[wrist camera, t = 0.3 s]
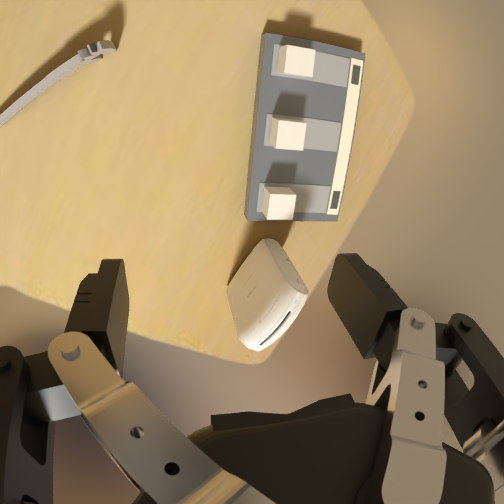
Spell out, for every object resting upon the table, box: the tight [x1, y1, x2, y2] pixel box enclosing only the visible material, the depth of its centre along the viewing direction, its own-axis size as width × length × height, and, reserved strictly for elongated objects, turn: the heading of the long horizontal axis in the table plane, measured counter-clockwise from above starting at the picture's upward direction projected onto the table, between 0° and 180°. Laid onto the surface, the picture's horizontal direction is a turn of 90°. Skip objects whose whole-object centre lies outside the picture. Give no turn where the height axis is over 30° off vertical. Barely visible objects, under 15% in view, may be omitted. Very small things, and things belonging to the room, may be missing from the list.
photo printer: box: [227, 238, 308, 351], centre depth 39 cm, size 10×4×12 cm, turn 146°
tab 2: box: [277, 45, 316, 77], centre depth 28 cm, size 3×3×2 cm
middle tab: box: [269, 117, 307, 151], centre depth 32 cm, size 3×3×2 cm
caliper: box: [0, 40, 117, 127], centre depth 24 cm, size 20×1×6 cm, turn 109°
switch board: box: [244, 33, 365, 221], centre depth 35 cm, size 22×12×2 cm, turn 174°
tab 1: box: [262, 187, 296, 220], centre depth 36 cm, size 3×3×2 cm
